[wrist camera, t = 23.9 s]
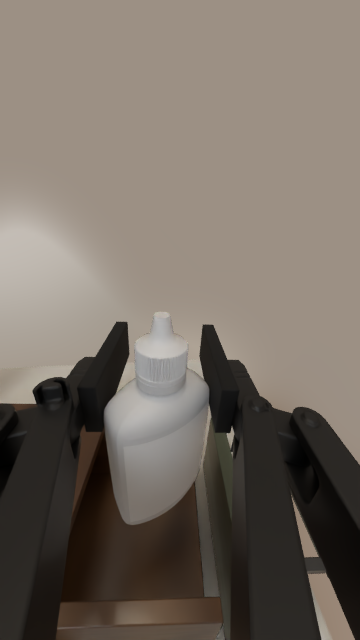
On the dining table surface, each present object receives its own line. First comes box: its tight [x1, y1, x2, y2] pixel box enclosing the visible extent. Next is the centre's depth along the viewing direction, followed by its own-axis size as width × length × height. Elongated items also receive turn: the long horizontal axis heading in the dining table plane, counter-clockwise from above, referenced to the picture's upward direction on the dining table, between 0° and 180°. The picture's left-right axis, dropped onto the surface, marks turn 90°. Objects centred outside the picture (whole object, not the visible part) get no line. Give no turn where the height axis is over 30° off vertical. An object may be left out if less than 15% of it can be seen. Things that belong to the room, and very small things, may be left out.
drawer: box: [56, 418, 329, 640], centre depth 16 cm, size 21×12×8 cm, turn 92°
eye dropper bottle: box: [104, 312, 210, 525], centre depth 11 cm, size 4×6×12 cm
